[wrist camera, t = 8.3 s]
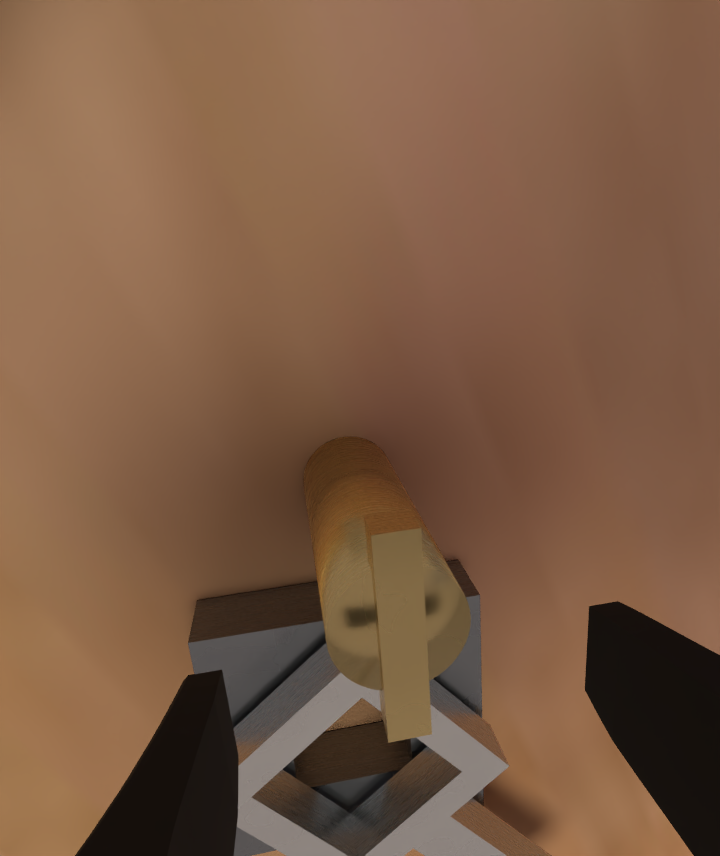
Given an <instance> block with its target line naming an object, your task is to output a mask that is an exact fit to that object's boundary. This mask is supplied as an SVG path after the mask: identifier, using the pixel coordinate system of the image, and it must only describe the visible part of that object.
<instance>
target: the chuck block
mask: <svg viewBox="0 0 720 856" xmlns="http://www.w3.org/2000/svg"><path fill="white" fill-rule="evenodd" d="M446 563H447V565H448V566H449V568H450V570H451V572H452V573H453V575H454V577H455V579H456V580H457V582H458V584H459V586H460V588H461V589H462V591H463V593H464V595H465V597H466V599H467V601H468V604H469V608H470V615H471V623H470V631H469V635H468V638H467V641H466V643H465V645H464V647H463V649H462V651H461V652H460V654H459V655H458V657H457V658H456V659H455V661H454V662H453V663H452V664H451V665H450V666H449V667H448V668H447V669H446V670H445V671H443V672H442V673H441V674H439V675H438V676H436V677H435V678H433V679H434V680H435V681H436V682H437V683H439V684H440V685H441V686H442V687H444V688H445V689H446V690H447V691H449V692H450V693H451V694H452V695H454V696H455V697H456V698H457V699H459V700H460V701H461V702H462V703H464V704H465V705H466V706H467V707H469V708H470V709H471V710H472V711H474V712H475V713H476V714H477V715H479V716H480V717H481V718H482V687H481V630H480V594H479V593H478V591H477V590H476V588H475V586H474V585H473V583H472V581H471V580H470V578H469V576H468V575H467V573H466V571H465V570H464V568H463V567H462V565H461V563H460V562H459V560H453V561H447V562H446ZM325 643H326V637H325V630H324V623H323V616H322V609H321V602H320V595H319V588H318V582H312V583H306V584H299V585H293V586H286V587H280V588H274V589H267V590H261V591H254V592H248V593H242V594H235V595H229V596H222V597H216V598H210V599H203V600H197V603H196V608H195V612H194V617H193V622H192V627H191V631H190V636H189V641H188V645H189V650H190V655H191V659H192V664H193V669H194V673H195V674H199V673H205V672H210V671H216V670H222V672H223V677H224V682H225V688H226V693H227V698H228V703H229V708H230V714H231V719H232V724H233V728H234V727H235V726H236V725H237V724H239V723H240V722H241V721H242V720H243V719H244V718H245V717H246V716H247V715H248V714H249V713H250V712H252V711H253V710H254V709H255V708H256V707H257V706H258V705H259V704H260V703H261V702H262V701H263V700H265V699H266V698H267V697H268V696H269V695H270V694H271V693H272V692H273V691H274V690H275V689H276V688H277V687H279V686H280V685H281V684H282V683H283V682H284V681H285V680H286V679H287V678H288V677H289V676H290V675H292V674H293V673H294V672H295V671H296V670H297V669H298V668H299V667H300V666H301V665H302V664H303V663H305V662H306V661H307V660H308V659H309V658H310V657H311V656H312V655H313V654H314V653H315V652H316V651H318V650H319V649H320V648H321V647H322V646H323V645H324V644H325ZM426 747H427V745H425V744H424V743H423V742H421V741H420V740H419V739H417V738H411V739H405V740H400V741H395V742H390V743H388V739H387V735H386V731H385V726H384V722H383V721H382V722H377V723H372V724H366V725H361V726H356V727H351V728H345V729H340V730H335V731H329V732H324V733H322V734H321V735H320V736H319V737H318V738H316V739H315V740H314V741H313V742H312V743H311V744H310V745H309V746H308V747H306V748H305V749H304V750H303V751H302V752H301V753H300V754H299V755H298V756H296V757H295V758H294V759H293V760H292V761H291V762H290V763H289V764H288V765H287V766H285V767H284V768H283V769H282V770H284V771H285V772H287V773H288V774H290V775H292V776H293V777H295V778H296V779H298V780H299V781H301V782H303V783H304V784H306V785H307V786H309V787H310V788H312V789H313V790H315V791H317V792H318V793H320V794H321V795H323V796H324V797H326V798H327V799H329V800H331V801H332V802H334V803H335V804H337V805H338V806H340V807H341V808H343V809H345V810H346V811H348V812H349V813H352V812H353V811H354V810H355V809H356V808H357V807H359V806H360V805H361V804H362V803H363V802H364V801H365V800H367V799H368V798H369V797H370V796H371V795H372V794H373V793H375V792H376V791H377V790H378V789H379V788H380V787H381V786H383V785H384V784H385V783H386V782H387V781H388V780H389V779H391V778H392V777H393V776H394V775H395V774H396V773H397V772H399V771H400V770H401V769H402V768H403V767H404V766H405V765H407V764H408V763H409V762H410V761H411V760H412V759H413V758H415V757H416V756H417V755H418V754H419V753H420V752H421V751H423V750H424V749H425V748H426ZM472 798H473V799H474V800H476V801H477V802H478V803H480V804H481V805H482V806H484V800H483V789H482V790H481V791H479V792H478V793H477V794H476V795H475V796H474V797H472ZM275 850H276V849H274V848H273V847H271V846H269V845H267V844H266V843H264V842H262V841H261V840H259V839H257V838H255V837H254V836H252V835H250V834H248V833H247V832H245V831H243V830H241V829H240V828H238V827H237V829H236V839H235V848H234V856H251V855H256V854H260V853H265V852H270V851H275Z"/></svg>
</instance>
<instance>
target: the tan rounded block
mask: <svg viewBox="0 0 720 856" xmlns="http://www.w3.org/2000/svg"><path fill="white" fill-rule="evenodd" d="M303 481H304V491H305V497H306V504H307V511H308V518H309V525H310V532H311V539H312V546H313V553H314V560H315V567H316V574H317V581H318V588H319V595H320V602H321V609H322V616H323V623H324V630H325V637H326V644H327V649H328V652H329V655H330V658H331V659H332V661H333V663H334V665H335V666H336V667H337V669H338V670H339V671H340V672H341V673H342V674H343V675H344V676H345V677H347V678H348V679H349V680H351V681H352V682H354V683H356V684H358V685H360V686H363V687H366V688H370V689H374V690H379V695H380V706H381V714H382V718H383V722H384V726H385V731H386V735H387V739H388V743H390V742H395V741H400V740H405V739H411V738H416V737H421V736H426V735H431V734H432V725H431V706H430V687H429V681H430V680H431V679H433V678H435V677H436V676H438V675H439V674H441V673H442V672H443V671H445V670H446V669H447V668H448V667H449V666H450V665H451V664H452V663H453V662H454V661H455V659H456V658H457V657H458V655H459V654H460V652H461V651H462V649H463V647H464V645H465V643H466V641H467V638H468V635H469V631H470V623H471V615H470V608H469V604H468V601H467V599H466V597H465V595H464V593H463V591H462V589H461V588H460V586H459V584H458V582H457V580H456V579H455V577H454V575H453V573H452V572H451V570H450V568H449V566H448V565H447V563H446V561H445V559H444V557H443V556H442V554H441V552H440V550H439V549H438V547H437V545H436V543H435V542H434V540H433V538H432V536H431V535H430V533H429V531H428V529H427V527H426V526H425V524H424V522H423V520H422V519H421V517H420V515H419V513H418V512H417V510H416V508H415V506H414V504H413V503H412V501H411V499H410V497H409V496H408V494H407V492H406V490H405V489H404V487H403V485H402V483H401V481H400V480H399V478H398V476H397V474H396V473H395V471H394V469H393V467H392V466H391V464H390V462H389V460H388V459H387V457H386V455H385V454H384V452H383V451H382V450H381V449H380V448H379V447H378V446H377V445H375V444H374V443H372V442H370V441H368V440H366V439H363V438H358V437H342V438H337V439H334V440H331V441H329V442H327V443H325V444H324V445H322V446H321V447H320V448H319V449H317V450H316V451H315V452H314V454H313V455H312V456H311V458H310V459H309V461H308V463H307V465H306V468H305V472H304V479H303Z"/></svg>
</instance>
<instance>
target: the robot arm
mask: <svg viewBox="0 0 720 856" xmlns="http://www.w3.org/2000/svg"><path fill="white" fill-rule="evenodd" d="M585 691H586V693H587V694H588V696H589V698H590V700H591V702H592V704H593V706H594V708H595V710H596V712H597V713H598V715H599V717H600V719H601V721H602V723H603V724H604V726H605V728H606V730H607V731H608V733H609V735H610V737H611V739H612V740H613V742H614V743H615V745H616V746H617V748H618V749H619V751H620V752H621V753H622V755H623V756H624V758H625V759H626V761H627V762H628V763H629V765H630V766H631V768H632V769H633V771H634V772H635V773H636V775H637V776H638V778H639V779H640V781H641V782H642V783H643V785H644V786H645V788H646V789H647V790H648V792H649V793H650V795H651V796H652V797H653V799H654V800H655V802H656V803H657V805H658V806H659V807H660V809H661V810H662V812H663V813H664V814H665V816H666V817H667V819H668V820H669V821H670V823H671V824H672V826H673V827H674V828H675V830H676V831H677V833H678V834H679V835H680V837H681V838H682V840H683V841H684V843H685V844H686V845H687V847H688V848H689V850H690V851H691V852H692V854H693V855H694V856H720V655H718V654H716V653H714V652H713V651H711V650H709V649H707V648H705V647H703V646H701V645H699V644H698V643H696V642H694V641H692V640H690V639H688V638H687V637H685V636H683V635H681V634H679V633H677V632H676V631H674V630H672V629H670V628H668V627H666V626H664V625H663V624H661V623H659V622H657V621H655V620H653V619H652V618H650V617H648V616H646V615H644V614H642V613H640V612H638V611H636V610H634V609H633V608H631V607H629V606H626V605H624V604H622V603H620V602H618V601H617V602H612V603H606V604H600V605H594V606H589V621H588V640H587V659H586V678H585ZM238 765H239V755H238V750H237V745H236V740H235V734H234V729H233V724H232V719H231V714H230V708H229V703H228V698H227V693H226V688H225V682H224V677H223V672H222V670H216V671H210V672H205V673H199V674H193V675H188V676H187V677H186V679H185V680H184V681H183V683H182V685H181V686H180V688H179V690H178V692H177V694H176V696H175V698H174V700H173V702H172V704H171V705H170V707H169V709H168V711H167V713H166V715H165V716H164V718H163V720H162V722H161V723H160V725H159V727H158V729H157V730H156V732H155V734H154V736H153V737H152V739H151V741H150V743H149V744H148V746H147V748H146V749H145V751H144V752H143V754H142V756H141V757H140V759H139V761H138V762H137V764H136V766H135V767H134V769H133V770H132V772H131V774H130V775H129V777H128V779H127V780H126V782H125V783H124V785H123V787H122V788H121V790H120V791H119V793H118V794H117V796H116V797H115V799H114V800H113V802H112V803H111V804H110V806H109V807H108V809H107V810H106V812H105V813H104V815H103V816H102V818H101V819H100V821H99V822H98V824H97V825H96V827H95V828H94V830H93V831H92V833H91V834H90V836H89V837H88V838H87V840H86V841H85V843H84V844H83V845H82V847H81V848H80V850H79V851H78V852H77V854H76V855H75V856H234V848H235V839H236V829H237V820H238Z"/></svg>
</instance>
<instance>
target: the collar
mask: <svg viewBox="0 0 720 856" xmlns="http://www.w3.org/2000/svg"><path fill="white" fill-rule="evenodd" d="M429 687H430V706H431V725H432V734H431V735H426V736H421V737H416V738H417V739H419V740H420V741H421V742H423V743H424V744H425V745H427V747H426V748H425V749H424V750H423V751H421V752H420V753H419V754H418V755H417V756H416V757H415V758H413V759H412V760H411V761H410V762H409V763H408V764H407V765H405V766H404V767H403V768H402V769H401V770H400V771H399V772H397V773H396V774H395V775H394V776H393V777H392V778H391V779H389V780H388V781H387V782H386V783H385V784H384V785H383V786H381V787H380V788H379V789H378V790H377V791H376V792H375V793H373V794H372V795H371V796H370V797H369V798H368V799H367V800H365V801H364V802H363V803H362V804H361V805H360V806H359V807H357V808H356V809H355V810H354V811H353V812H352V813H349V812H348V811H346V810H345V809H343V808H341V807H340V806H338V805H337V804H335V803H334V802H332V801H331V800H329V799H327V798H326V797H324V796H323V795H321V794H320V793H318V792H317V791H315V790H313V789H312V788H310V787H309V786H307V785H306V784H304V783H303V782H301V781H299V780H298V779H296V778H295V777H293V776H292V775H290V774H288V773H287V772H285V771H284V770H282V769H283V768H284V767H285V766H287V765H288V764H289V763H290V762H291V761H292V760H293V759H294V758H295V757H296V756H298V755H299V754H300V753H301V752H302V751H303V750H304V749H305V748H306V747H308V746H309V745H310V744H311V743H312V742H313V741H314V740H315V739H316V738H318V737H319V736H320V735H321V734H322V733H323V732H324V731H325V730H326V729H328V728H329V727H330V726H331V725H332V724H333V723H334V722H335V721H336V720H338V719H339V718H340V717H341V716H342V715H343V714H344V713H345V712H346V711H347V710H349V709H350V708H351V707H352V706H353V705H354V704H355V703H356V702H357V701H359V700H360V699H361V698H363V699H365V700H366V701H367V702H369V703H370V704H371V705H373V706H374V707H376V708H377V709H378V710H380V711H381V706H380V695H379V690H374V689H370V688H366V687H363V686H360V685H358V684H356V683H354V682H352V681H351V680H349V679H348V678H347V677H345V676H344V675H343V674H342V673H341V672H340V671H339V670H338V669H337V667H336V666H335V665H334V663H333V661H332V659H331V658H330V655H329V652H328V649H327V644H326V643H325V644H324V645H323V646H322V647H321V648H320V649H319V650H318V651H316V652H315V653H314V654H313V655H312V656H311V657H310V658H309V659H308V660H307V661H306V662H305V663H303V664H302V665H301V666H300V667H299V668H298V669H297V670H296V671H295V672H294V673H293V674H292V675H290V676H289V677H288V678H287V679H286V680H285V681H284V682H283V683H282V684H281V685H280V686H279V687H277V688H276V689H275V690H274V691H273V692H272V693H271V694H270V695H269V696H268V697H267V698H266V699H265V700H263V701H262V702H261V703H260V704H259V705H258V706H257V707H256V708H255V709H254V710H253V711H252V712H250V713H249V714H248V715H247V716H246V717H245V718H244V719H243V720H242V721H241V722H240V723H239V724H237V725H236V726H235V727H234V728H233V729H234V734H235V740H236V745H237V750H238V755H239V765H238V820H237V827H238V828H240V829H241V830H243V831H245V832H247V833H248V834H250V835H252V836H254V837H255V838H257V839H259V840H261V841H262V842H264V843H266V844H267V845H269V846H271V847H273V848H274V849H276V850H278V851H280V852H281V853H283V854H285V855H286V856H404V855H406V854H407V853H408V852H409V851H410V850H411V849H413V848H414V849H415V850H417V851H418V852H420V853H422V854H423V855H425V856H551V855H550V854H549V853H547V852H546V851H544V850H543V849H542V848H540V847H539V846H538V845H536V844H535V843H533V842H532V841H531V840H529V839H528V838H527V837H525V836H524V835H522V834H521V833H520V832H518V831H517V830H516V829H514V828H513V827H511V826H510V825H509V824H507V823H506V822H504V821H503V820H502V819H500V818H499V817H498V816H496V815H495V814H493V813H492V812H491V811H489V810H488V809H487V808H485V807H484V806H482V805H481V804H480V803H478V802H477V801H476V800H474V799H473V798H472V797H474V796H475V795H476V794H477V793H478V792H479V791H481V790H482V789H483V788H484V787H485V786H486V785H488V784H489V783H490V782H491V781H492V780H494V779H495V778H496V777H497V776H498V775H499V774H501V773H502V772H503V771H504V770H505V769H506V768H508V767H509V764H508V762H507V760H506V758H505V756H504V754H503V751H502V749H501V747H500V745H499V743H498V741H497V739H496V736H495V734H494V732H493V730H492V728H491V726H490V724H488V723H487V722H486V721H485V720H484V719H482V718H481V717H480V716H479V715H477V714H476V713H475V712H474V711H472V710H471V709H470V708H469V707H467V706H466V705H465V704H464V703H462V702H461V701H460V700H459V699H457V698H456V697H455V696H454V695H452V694H451V693H450V692H449V691H447V690H446V689H445V688H444V687H442V686H441V685H440V684H439V683H437V682H436V681H435V680H434V679H431V680H430V681H429Z"/></svg>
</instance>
